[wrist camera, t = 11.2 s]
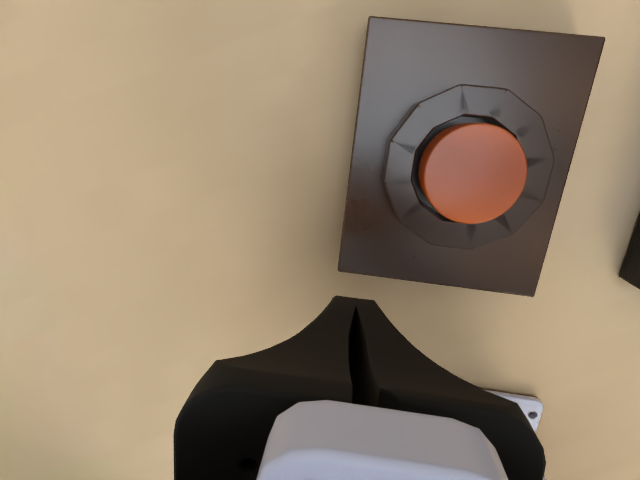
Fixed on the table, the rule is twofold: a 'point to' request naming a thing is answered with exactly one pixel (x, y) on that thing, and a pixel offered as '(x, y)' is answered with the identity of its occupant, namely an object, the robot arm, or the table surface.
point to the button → (473, 172)
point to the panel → (632, 259)
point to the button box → (448, 110)
